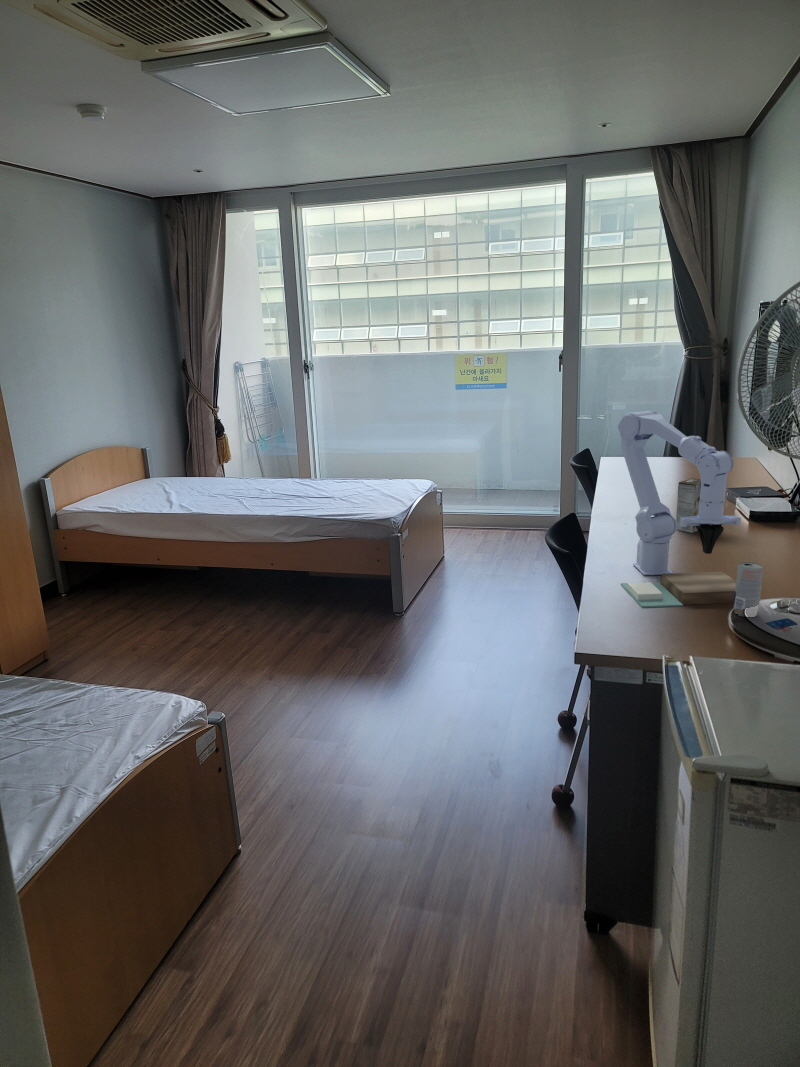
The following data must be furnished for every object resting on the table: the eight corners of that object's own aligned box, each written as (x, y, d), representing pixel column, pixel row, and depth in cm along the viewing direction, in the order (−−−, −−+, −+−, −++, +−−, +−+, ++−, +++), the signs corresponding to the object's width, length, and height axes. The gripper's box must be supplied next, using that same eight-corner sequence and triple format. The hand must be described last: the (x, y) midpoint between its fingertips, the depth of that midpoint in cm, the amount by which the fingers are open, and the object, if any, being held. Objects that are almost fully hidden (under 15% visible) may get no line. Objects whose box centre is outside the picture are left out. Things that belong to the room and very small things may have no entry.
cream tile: (650, 582, 186) (650, 587, 186) (627, 583, 186) (627, 588, 186) (662, 593, 178) (661, 599, 178) (638, 594, 178) (637, 600, 178)
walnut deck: (660, 584, 189) (661, 573, 188) (721, 582, 189) (722, 571, 189) (682, 604, 176) (683, 592, 175) (747, 602, 176) (748, 590, 175)
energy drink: (750, 609, 172) (756, 561, 169) (762, 617, 167) (768, 568, 163) (728, 609, 172) (733, 562, 168) (739, 618, 167) (745, 569, 163)
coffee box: (689, 524, 244) (693, 477, 239) (707, 527, 239) (711, 480, 235) (674, 529, 238) (678, 481, 234) (692, 533, 234) (696, 484, 229)
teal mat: (620, 584, 190) (620, 583, 190) (658, 583, 190) (658, 582, 190) (641, 607, 175) (641, 605, 175) (682, 606, 175) (682, 604, 175)
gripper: (689, 505, 176) (685, 558, 180) (748, 503, 176) (742, 556, 180) (678, 498, 183) (674, 549, 187) (735, 496, 183) (729, 548, 187)
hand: (707, 552), depth 184 cm, fingers closed
